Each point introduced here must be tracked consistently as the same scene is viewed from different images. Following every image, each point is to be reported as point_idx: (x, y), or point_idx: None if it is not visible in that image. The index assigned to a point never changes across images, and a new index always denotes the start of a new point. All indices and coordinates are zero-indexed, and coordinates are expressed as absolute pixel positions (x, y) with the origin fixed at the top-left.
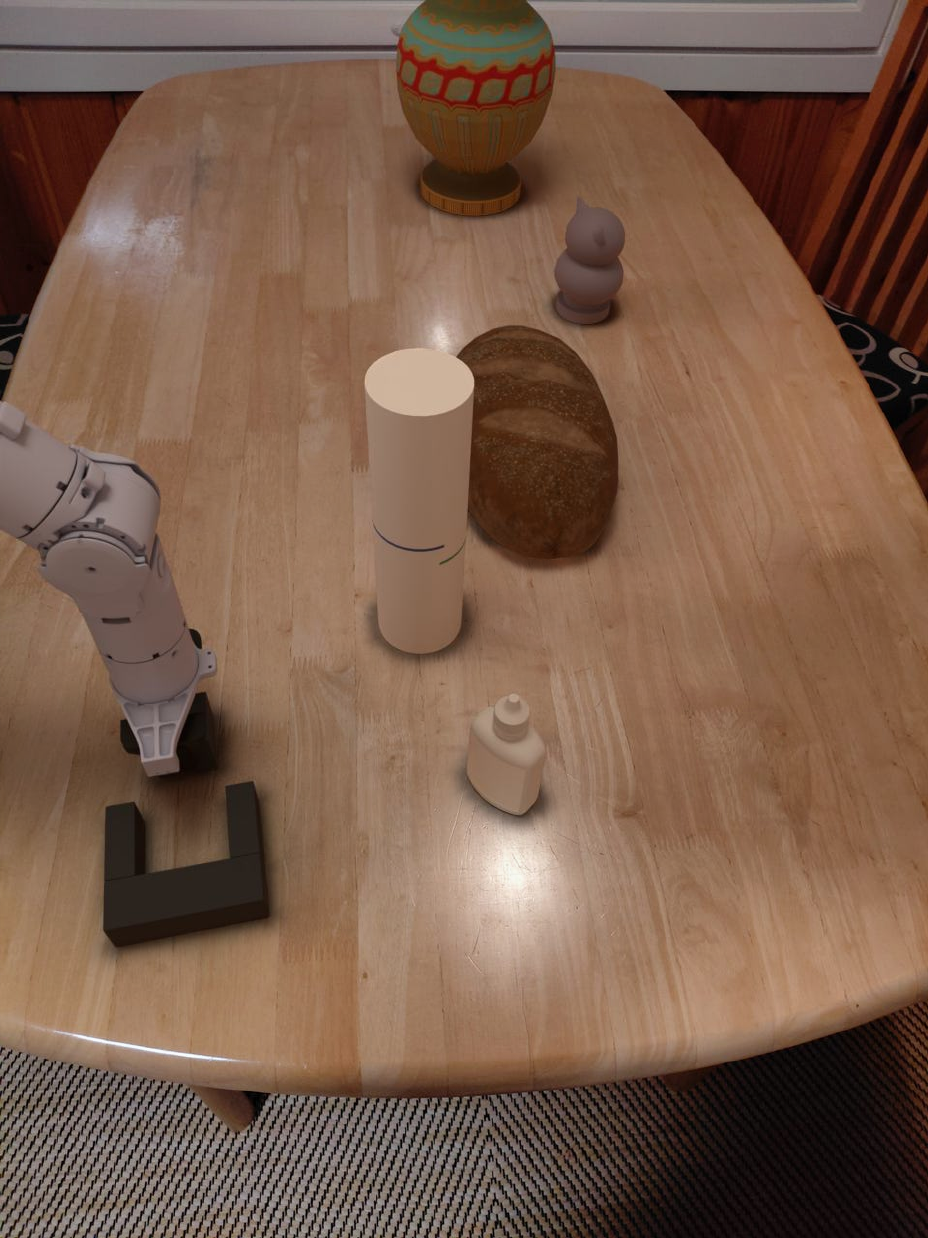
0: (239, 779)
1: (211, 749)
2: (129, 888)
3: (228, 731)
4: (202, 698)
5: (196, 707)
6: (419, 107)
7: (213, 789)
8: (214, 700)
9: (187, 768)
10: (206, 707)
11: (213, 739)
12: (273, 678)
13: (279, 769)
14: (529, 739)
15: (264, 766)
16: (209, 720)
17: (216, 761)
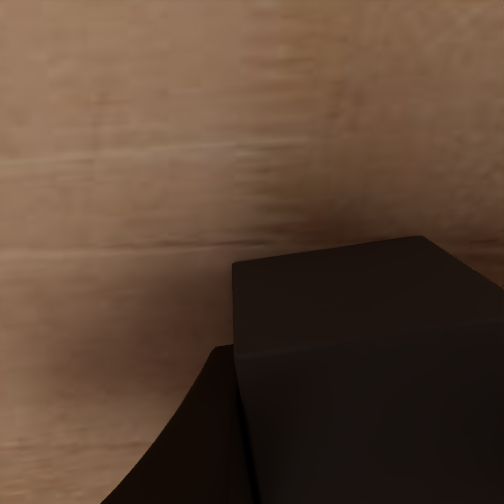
0: (478, 159)
1: (486, 278)
2: None
3: (281, 212)
4: (279, 366)
5: (331, 386)
6: None
7: (496, 241)
8: (149, 270)
9: None
10: (339, 342)
11: (371, 267)
12: (33, 50)
13: (469, 7)
14: None
15: (445, 69)
16: (353, 305)
17: (425, 243)
